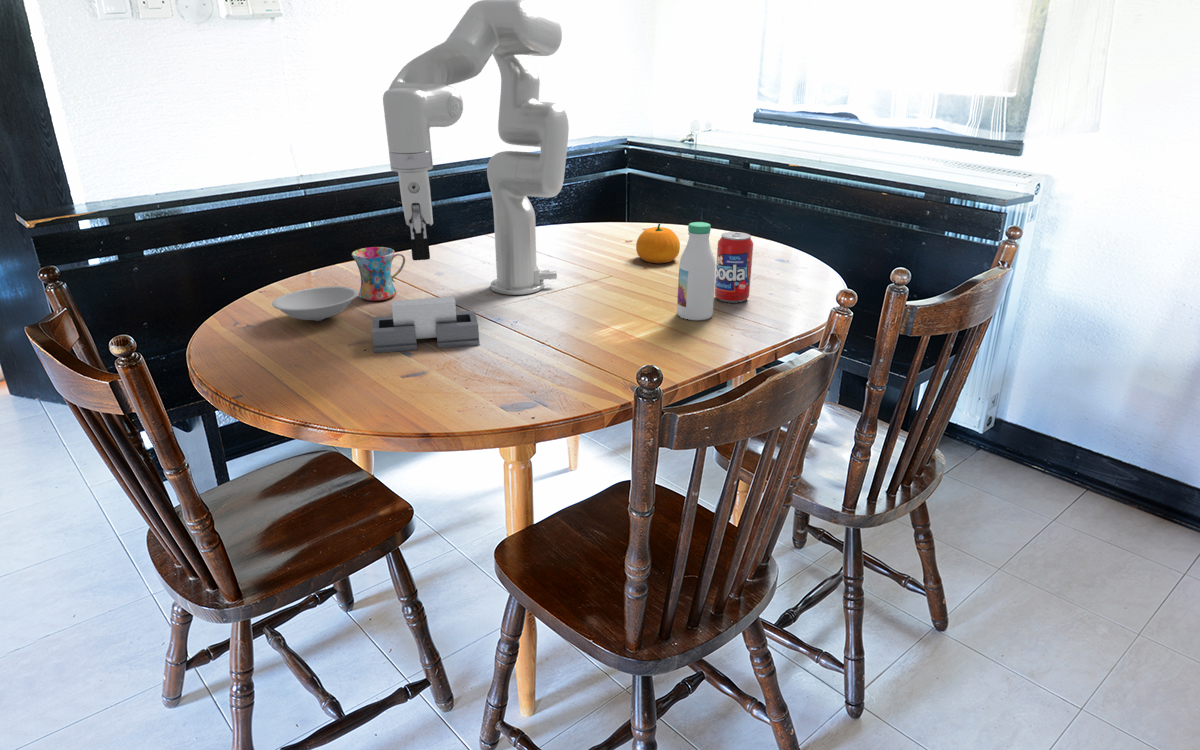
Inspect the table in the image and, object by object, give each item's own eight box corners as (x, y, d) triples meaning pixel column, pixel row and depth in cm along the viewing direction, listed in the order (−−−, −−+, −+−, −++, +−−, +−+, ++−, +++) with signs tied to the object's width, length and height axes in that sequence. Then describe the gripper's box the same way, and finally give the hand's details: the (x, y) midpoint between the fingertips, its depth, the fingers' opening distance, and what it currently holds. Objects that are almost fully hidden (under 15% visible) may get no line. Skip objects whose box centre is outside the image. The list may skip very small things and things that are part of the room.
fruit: (687, 258, 215) (688, 222, 211) (666, 268, 206) (667, 230, 202) (649, 252, 220) (650, 216, 216) (627, 262, 211) (628, 224, 207)
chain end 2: (475, 327, 164) (474, 309, 162) (479, 345, 155) (478, 325, 153) (436, 330, 162) (434, 312, 161) (438, 348, 153) (436, 328, 152)
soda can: (752, 296, 184) (758, 233, 178) (743, 306, 177) (748, 240, 171) (720, 292, 187) (724, 229, 181) (709, 301, 180) (713, 236, 174)
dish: (292, 338, 158) (288, 315, 156) (264, 320, 168) (260, 298, 166) (373, 319, 169) (370, 296, 167) (342, 303, 178) (340, 281, 176)
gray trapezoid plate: (456, 329, 160) (453, 296, 158) (457, 335, 157) (455, 301, 154) (395, 333, 158) (391, 300, 155) (395, 340, 154) (391, 306, 151)
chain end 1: (416, 332, 161) (414, 313, 160) (416, 349, 153) (415, 330, 151) (375, 335, 160) (373, 316, 158) (373, 353, 151) (371, 333, 149)
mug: (366, 306, 177) (361, 259, 172) (351, 295, 183) (345, 250, 179) (416, 296, 183) (412, 251, 179) (399, 286, 190) (395, 243, 186)
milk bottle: (715, 312, 174) (721, 221, 166) (708, 323, 167) (714, 229, 159) (681, 308, 176) (685, 218, 168) (672, 319, 170) (676, 226, 162)
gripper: (433, 168, 137) (442, 264, 144) (430, 152, 152) (439, 239, 159) (389, 170, 135) (400, 267, 142) (390, 153, 151) (400, 241, 158)
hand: (420, 252), depth 151 cm, fingers open, 9 cm apart
